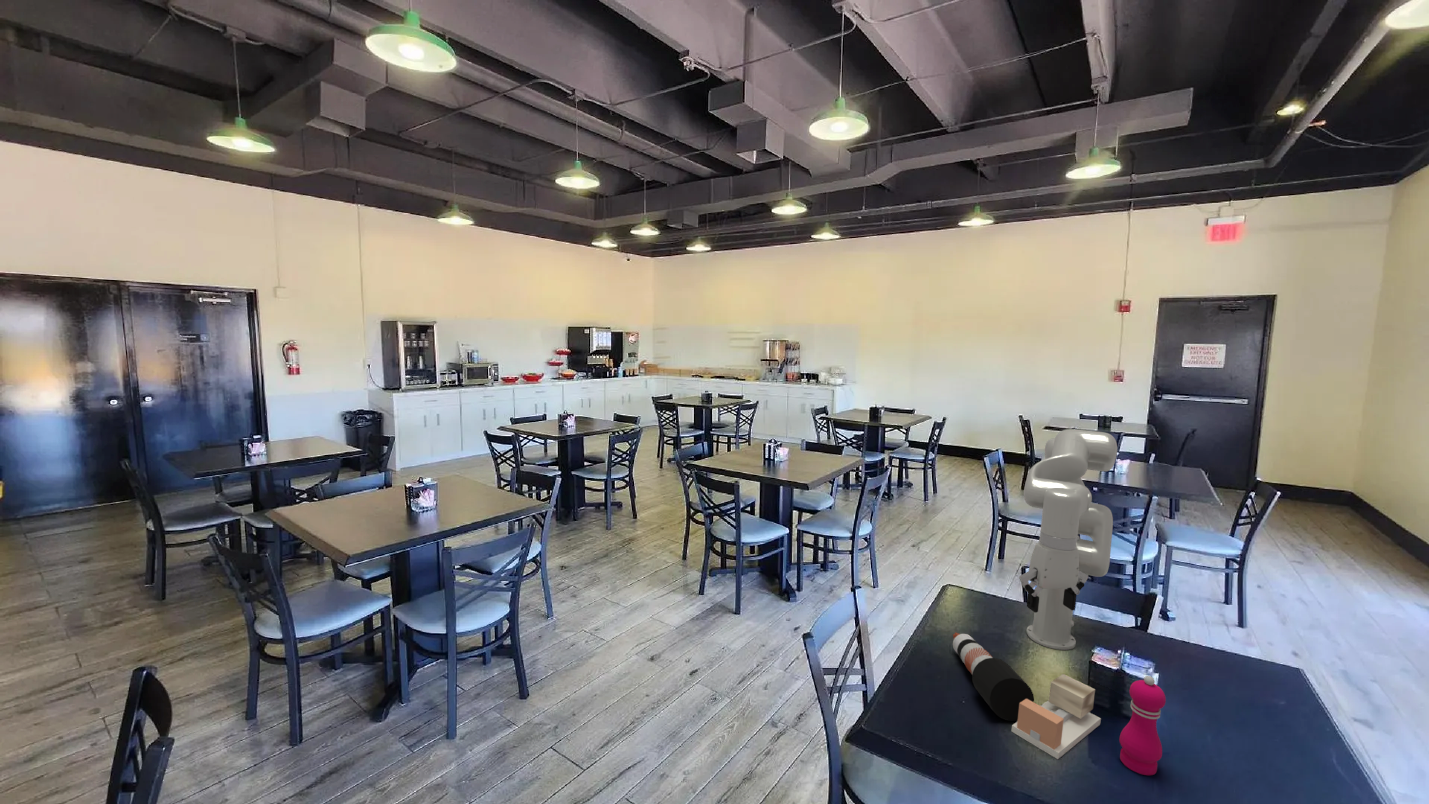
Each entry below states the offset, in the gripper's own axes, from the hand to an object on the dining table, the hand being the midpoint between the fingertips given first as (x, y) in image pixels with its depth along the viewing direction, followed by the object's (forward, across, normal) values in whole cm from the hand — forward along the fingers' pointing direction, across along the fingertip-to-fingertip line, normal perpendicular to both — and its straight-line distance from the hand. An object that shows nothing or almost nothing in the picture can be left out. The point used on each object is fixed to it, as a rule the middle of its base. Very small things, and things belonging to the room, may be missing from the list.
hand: (1050, 608), depth 139 cm
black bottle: (+24, +10, -9) cm, 28 cm away
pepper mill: (+24, -6, +22) cm, 33 cm away
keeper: (+21, -2, +7) cm, 22 cm away
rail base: (+24, +3, +10) cm, 26 cm away
